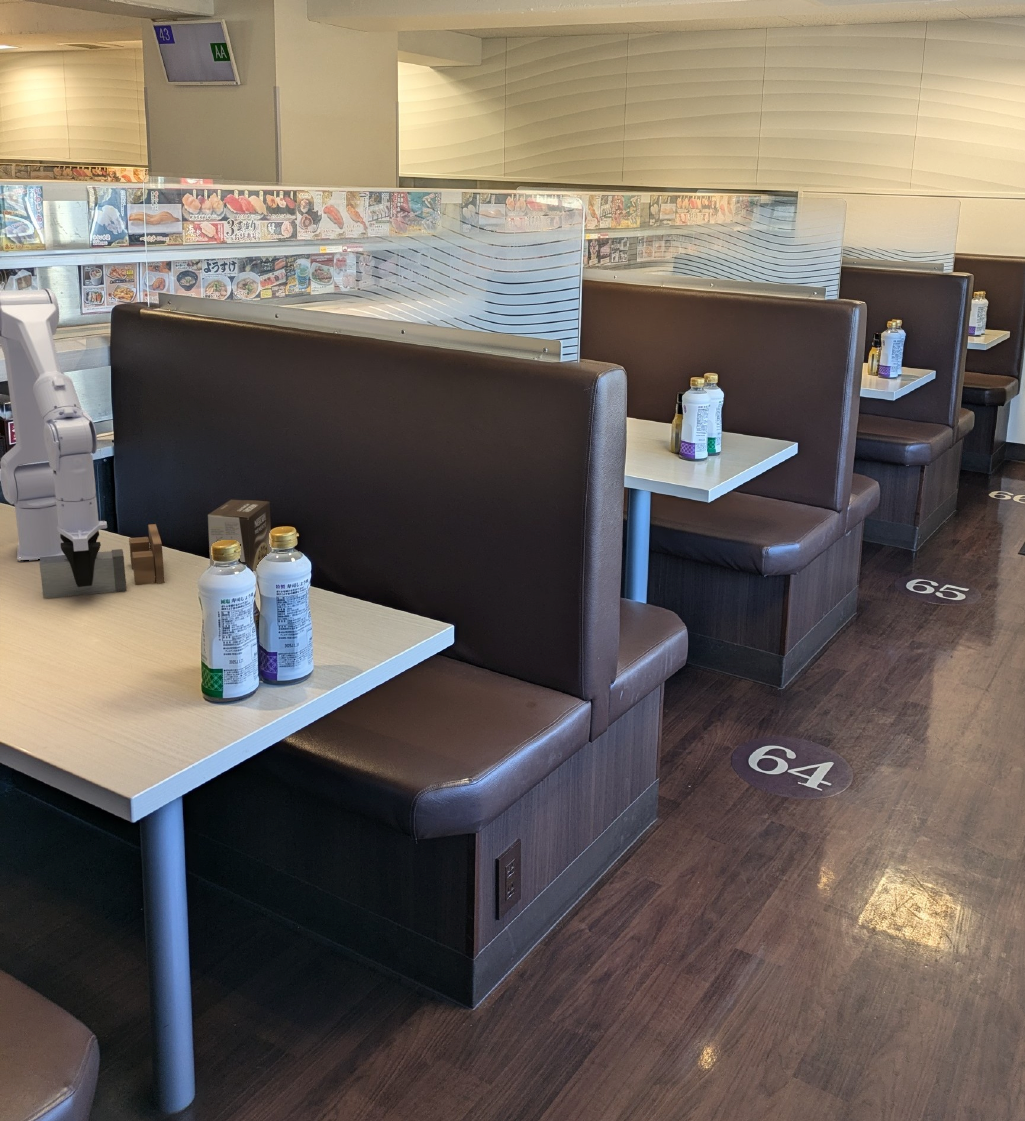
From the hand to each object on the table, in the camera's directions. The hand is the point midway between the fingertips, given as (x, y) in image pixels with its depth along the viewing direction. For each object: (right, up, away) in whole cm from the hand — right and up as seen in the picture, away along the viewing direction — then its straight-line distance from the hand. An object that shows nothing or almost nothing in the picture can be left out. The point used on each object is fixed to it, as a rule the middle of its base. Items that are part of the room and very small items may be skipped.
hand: (84, 581), depth 173 cm
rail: (0, -1, 0) cm, 2 cm away
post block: (+6, +1, +9) cm, 11 cm away
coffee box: (+26, -4, -5) cm, 27 cm away
